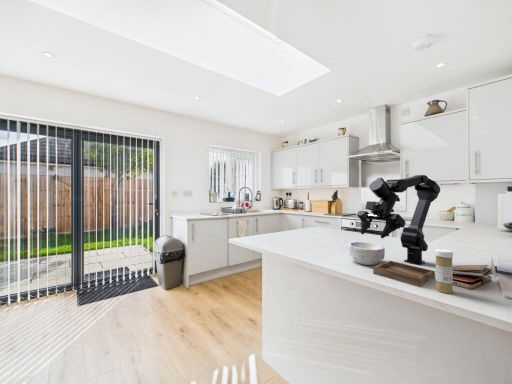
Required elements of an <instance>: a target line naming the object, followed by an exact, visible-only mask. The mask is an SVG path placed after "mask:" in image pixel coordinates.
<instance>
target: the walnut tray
mask: <svg viewBox="0 0 512 384" xmlns="http://www.w3.org/2000/svg"><path fill="white" fill-rule="evenodd" d="M372 268H373V271H372V273H373V275H377V276H380V277H383V278H387V279H390V280H393V281H398V282H401V283H404V284H408V285H412V286H415V287H418V288H420V287H422V286H423V285H425V284H427V283H429V282H431V281H432V280H434V279H436V270H432V269H427V268H423V267H419V266H415V265H412V264H411V265H410V264H406V263H403V262H398V261H394V260H388V261H386V262H383V263H380V264H376V265H373V267H372Z"/></svg>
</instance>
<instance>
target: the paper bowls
mask: <svg viewBox="0 0 512 384" xmlns="http://www.w3.org/2000/svg"><path fill="white" fill-rule="evenodd" d="M347 246H348V251H347V253H348V255H349V256H350V257H352V259H353V261H354V262H355V263H358V264H360V265H364V266H377V265H379V262H380V261H382V260H384V259H385V253H386V251H385V246H383V245H381V244H378V243H374V242H369V241H368V242H367V241H352V242H349V243H348V245H347Z"/></svg>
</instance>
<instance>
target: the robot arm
mask: <svg viewBox="0 0 512 384" xmlns="http://www.w3.org/2000/svg"><path fill="white" fill-rule="evenodd" d="M411 187H414V190H415V191H416V195H417V197H418V200H417V203H416V206H415V209H414V212H413V215H412V218H411V220H410V224H409V226H407V227H405V226H406V220H405V219H404V218H403V217H402V216H401V215H400V214H399V213H394V212H395V210H394V206H395V204H396V202H401V198H400V197H399V196H400V195H399V194H398V193H400V194H401V193H405V191H407V190H408V188H411ZM368 189H369V191H371V193H373V194H374V195H375V196H376V197H377V198H379V200H378V201H370V200H369V201H366V204H365V210H366V211H365V210H359V211H357V214H356V217H358V219H360V225H361V227H360V234H361V235H364V234H365V233H366V232H367V230H368V229H369V228H370V226H371V225H372V222H373V221H381V222H385V226H384V227H383V230H382V232H381V234H380V239H385V238H386V237H387V236H389V235H390V234H391V233H393V232H395V231H396V230H399V229H400V228H403V229H402V232H401V234H400V243H401V247H402V248H406V259H404V260H403V262H404V263H409V264H414V265H419V266H420V265H422V264H425V263H426V261H425V260H423V252H427V251H428V248H429V245H428V244H427V242H426V240H425V234H424V232H423V229H424V228H423V227H424V226H425V222H426V218H427V216H428V212H429V209H430V206H431V203H433V202H434V201H436V200H437V198H438V197H439V194H440V192H441V187H440V185H439V184H438V183H437V182H436V181H435V180H433V179H430V178H429V177H428V175H425V174H419V175H418V174H416V175H413V176H411V177H406V178H399V179H398V178H397V179H387V180H385V179H384V178H383V177H377V178H376V179H375V180H373V181H372V182H371V183H370V184H369V188H368ZM396 193H397V194H396ZM367 210H368V211H370V213H371V214H370V213H369V212H368V211H367Z"/></svg>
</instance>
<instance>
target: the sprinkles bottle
mask: <svg viewBox="0 0 512 384" xmlns="http://www.w3.org/2000/svg"><path fill="white" fill-rule="evenodd" d="M453 253H454V252H453V250H450V249H446V248H444V249H443V248H436V249H435V250H434V255H435V290H436V291H438V292H440V293H444V294H453V292H454V290H453V257H454V254H453Z"/></svg>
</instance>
